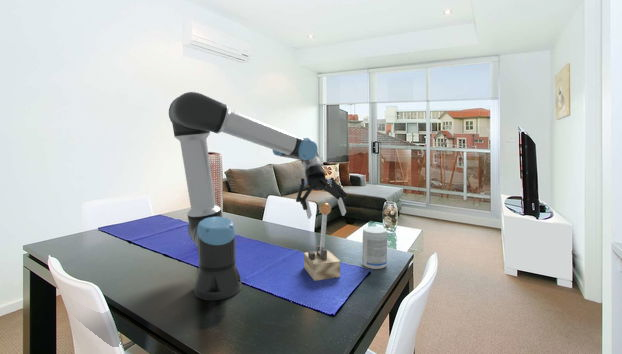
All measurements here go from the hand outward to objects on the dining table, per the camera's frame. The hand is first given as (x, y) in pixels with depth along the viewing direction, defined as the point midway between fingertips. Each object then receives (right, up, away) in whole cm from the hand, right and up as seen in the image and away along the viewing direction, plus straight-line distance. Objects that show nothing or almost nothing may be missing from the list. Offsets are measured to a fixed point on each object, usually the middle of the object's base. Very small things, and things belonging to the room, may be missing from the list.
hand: (327, 215), depth 113 cm
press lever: (-2, -14, +3) cm, 15 cm away
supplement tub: (+19, -21, +11) cm, 31 cm away
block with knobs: (-2, -22, +4) cm, 22 cm away
